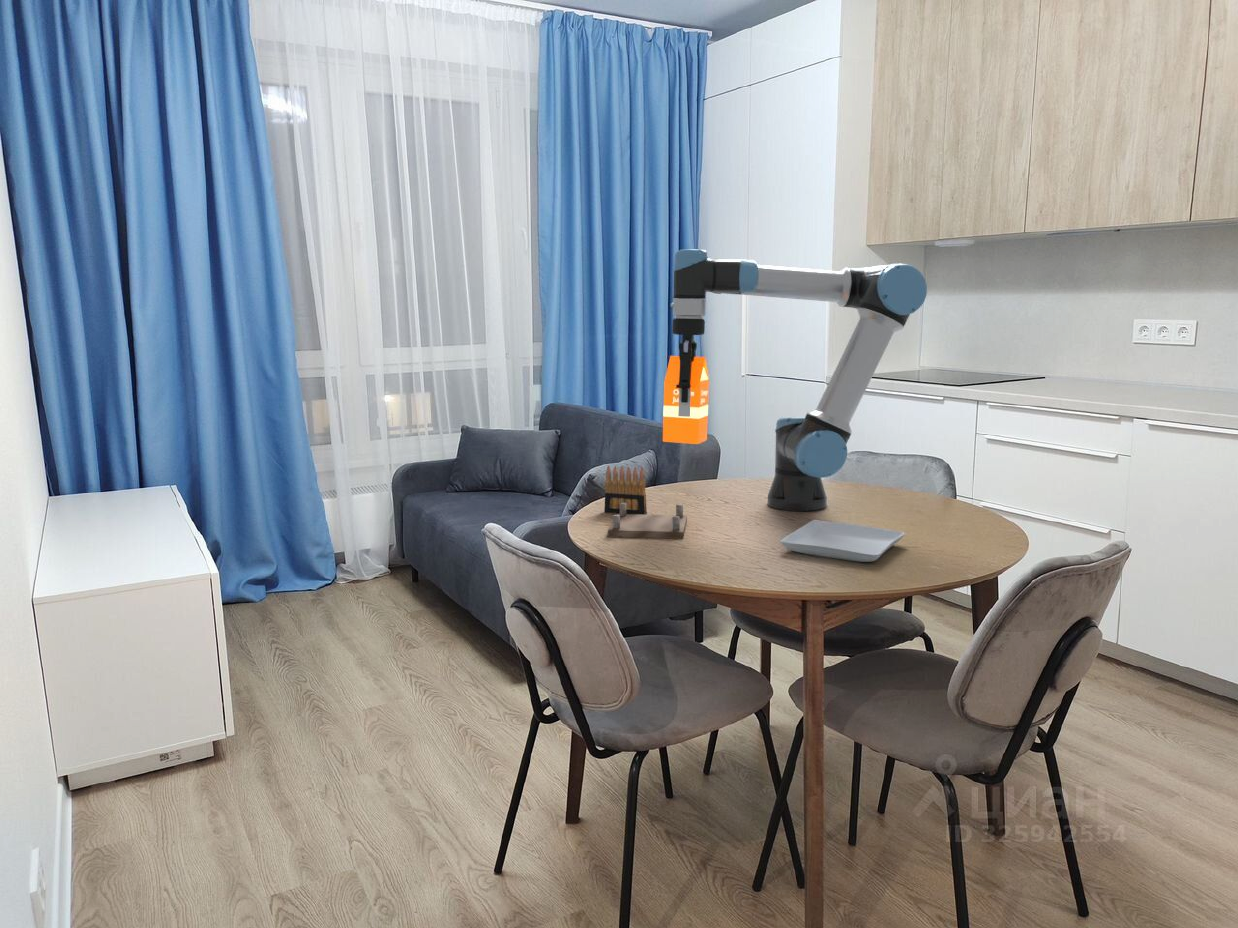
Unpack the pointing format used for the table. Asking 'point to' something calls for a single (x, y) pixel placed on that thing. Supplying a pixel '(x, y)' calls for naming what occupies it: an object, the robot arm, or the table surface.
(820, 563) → the table surface
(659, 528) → the peg stand
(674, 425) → the orange juice
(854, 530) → the salad plate
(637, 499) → the ammunition clip
